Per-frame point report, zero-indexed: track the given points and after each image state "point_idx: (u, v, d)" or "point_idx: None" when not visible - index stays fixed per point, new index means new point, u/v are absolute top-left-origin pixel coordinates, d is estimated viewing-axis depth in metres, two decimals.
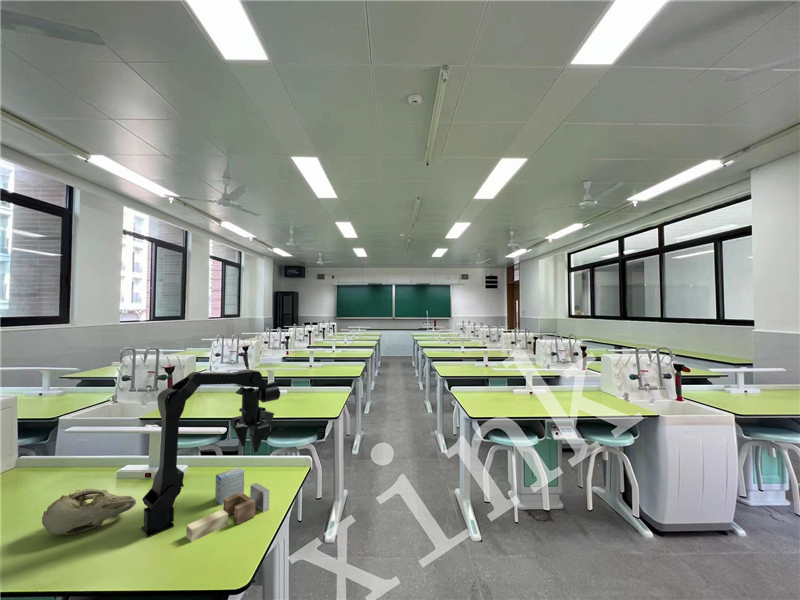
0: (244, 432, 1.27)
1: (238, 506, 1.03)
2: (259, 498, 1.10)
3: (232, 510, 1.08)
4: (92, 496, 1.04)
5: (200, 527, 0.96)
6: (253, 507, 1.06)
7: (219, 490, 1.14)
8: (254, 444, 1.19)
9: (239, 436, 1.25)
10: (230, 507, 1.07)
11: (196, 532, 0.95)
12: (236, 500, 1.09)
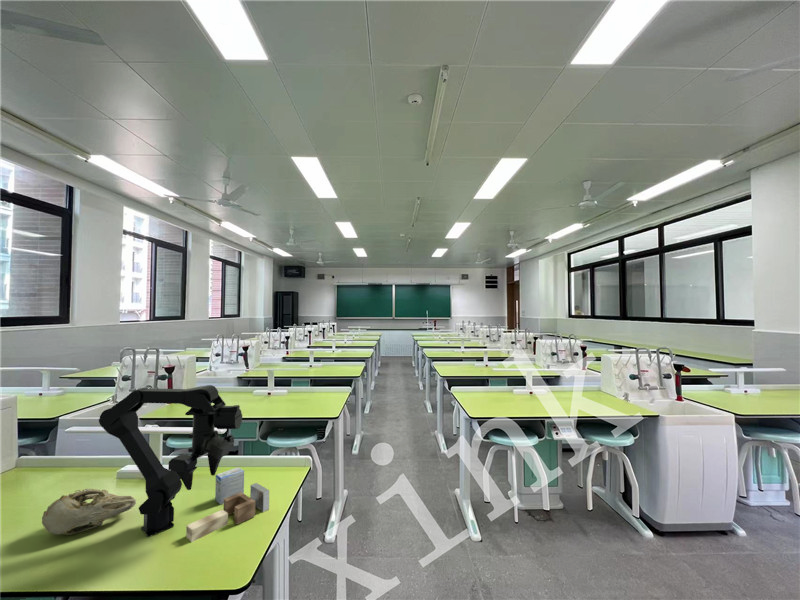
0: (215, 459, 1.07)
1: (238, 506, 1.03)
2: (259, 498, 1.10)
3: (232, 510, 1.08)
4: (92, 496, 1.04)
5: (200, 527, 0.96)
6: (253, 507, 1.06)
7: (219, 490, 1.14)
8: (182, 479, 0.97)
9: (209, 462, 1.07)
10: (230, 507, 1.07)
11: (196, 532, 0.95)
12: (236, 500, 1.09)
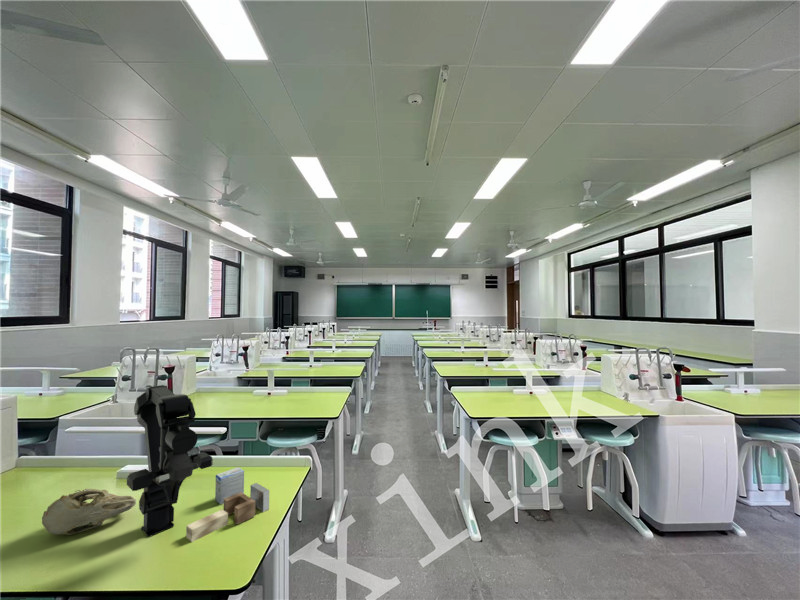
0: (175, 483, 0.93)
1: (238, 506, 1.03)
2: (259, 498, 1.10)
3: (232, 510, 1.08)
4: (92, 496, 1.04)
5: (200, 527, 0.96)
6: (253, 507, 1.06)
7: (219, 490, 1.14)
8: (163, 490, 0.92)
9: (171, 485, 0.94)
10: (230, 507, 1.07)
11: (196, 532, 0.95)
12: (236, 500, 1.09)
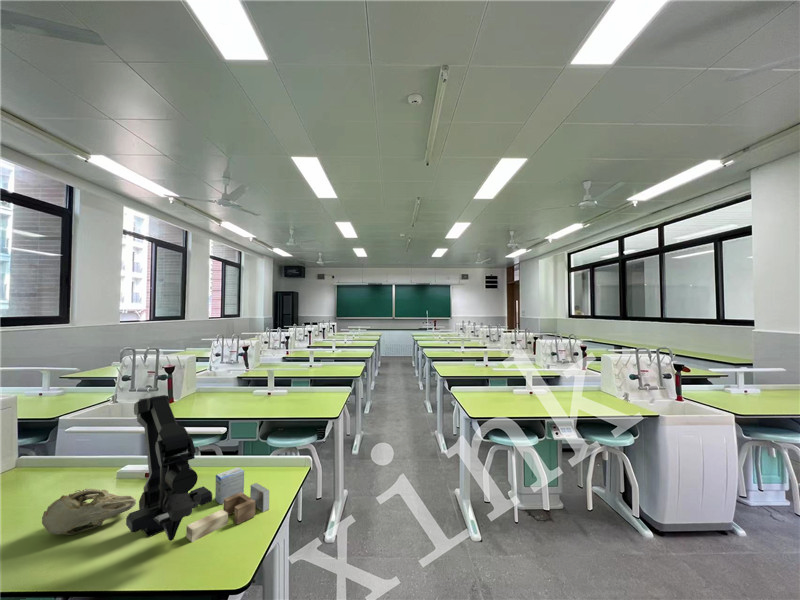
0: (174, 521, 0.93)
1: (238, 506, 1.03)
2: (259, 498, 1.10)
3: (232, 510, 1.08)
4: (92, 496, 1.04)
5: (200, 527, 0.96)
6: (253, 507, 1.06)
7: (219, 490, 1.14)
8: (163, 527, 0.92)
9: (170, 522, 0.94)
10: (230, 507, 1.07)
11: (196, 532, 0.95)
12: (236, 500, 1.09)
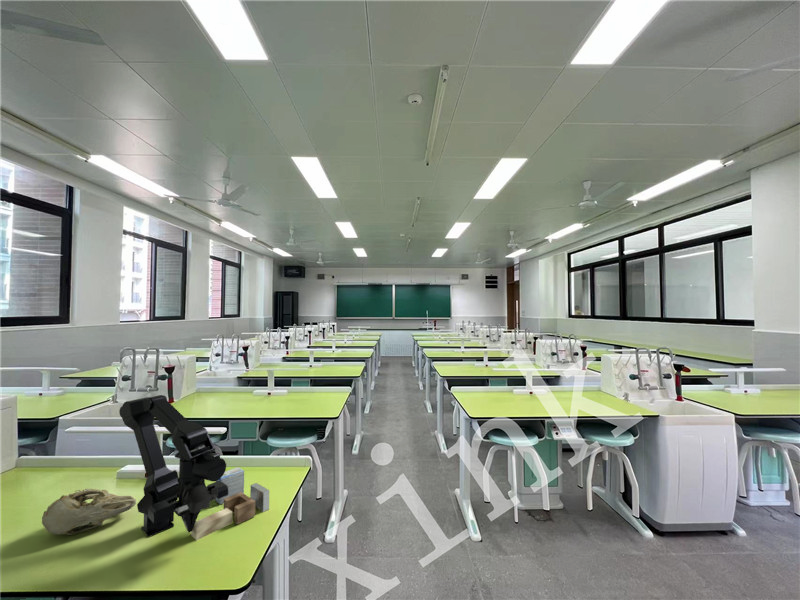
0: (192, 513, 0.96)
1: (238, 506, 1.03)
2: (259, 498, 1.10)
3: (232, 510, 1.08)
4: (92, 496, 1.04)
5: (205, 525, 0.97)
6: (253, 507, 1.06)
7: None
8: (182, 519, 0.96)
9: None
10: (230, 507, 1.07)
11: (201, 530, 0.96)
12: (236, 500, 1.09)
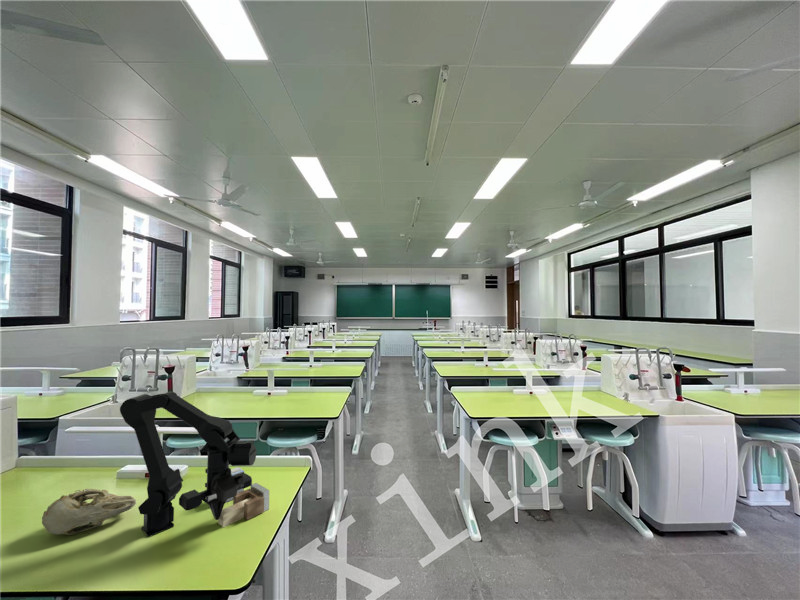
0: (219, 502, 1.02)
1: (248, 502, 1.06)
2: None
3: None
4: (92, 496, 1.04)
5: (231, 513, 1.03)
6: (262, 503, 1.08)
7: None
8: (210, 508, 1.01)
9: None
10: None
11: (227, 517, 1.02)
12: (245, 496, 1.11)
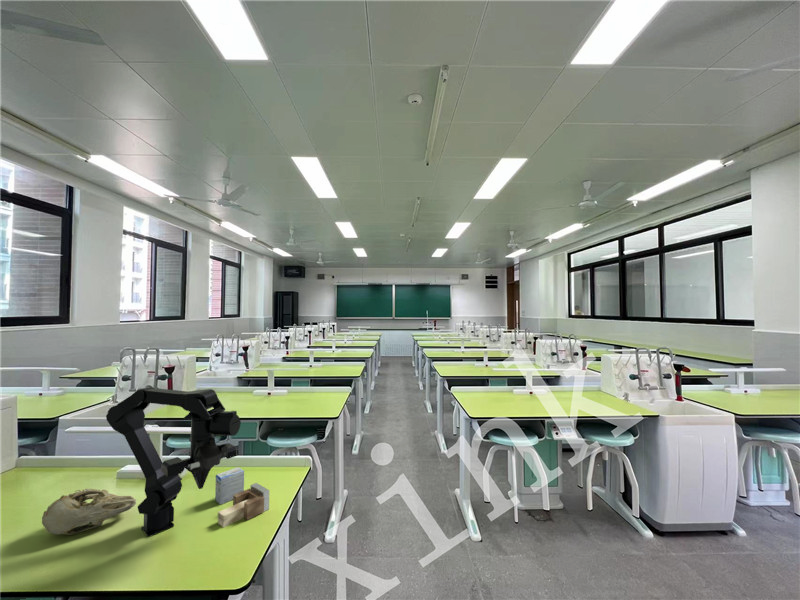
0: (203, 471, 1.01)
1: (248, 502, 1.06)
2: None
3: None
4: (92, 496, 1.04)
5: (231, 513, 1.03)
6: (262, 503, 1.08)
7: (219, 490, 1.14)
8: None
9: None
10: None
11: (227, 518, 1.02)
12: (245, 496, 1.11)
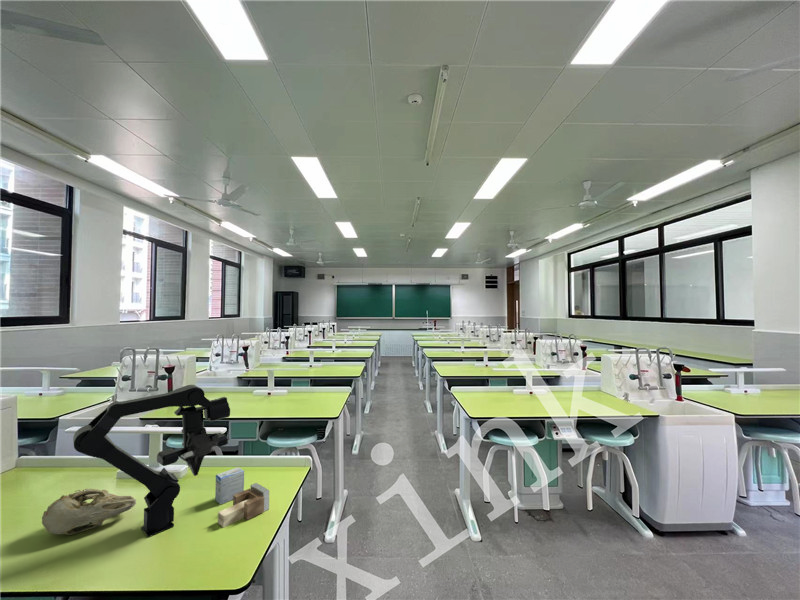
0: (197, 459, 1.08)
1: (248, 502, 1.06)
2: None
3: None
4: (92, 496, 1.04)
5: (231, 514, 1.03)
6: (262, 503, 1.08)
7: (219, 490, 1.14)
8: (188, 465, 1.08)
9: None
10: None
11: (227, 518, 1.02)
12: (245, 496, 1.11)
